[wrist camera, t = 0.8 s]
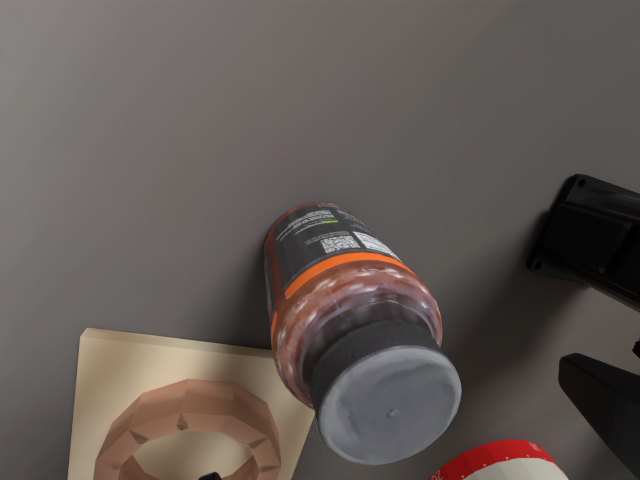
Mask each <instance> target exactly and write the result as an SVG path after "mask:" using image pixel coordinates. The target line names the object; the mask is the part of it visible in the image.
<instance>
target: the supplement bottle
mask: <svg viewBox="0 0 640 480" xmlns="http://www.w3.org/2000/svg"><path fill="white" fill-rule="evenodd" d="M263 264H264V273H265V283H266V296H267V306H268V315H269V327H270V328H269V330H270V336H271V344H272V352H273V358H274V362H275V365H276V369H277V372H278V374H279V376H280V378H281V380H282V382H283V384H284V385H285V387H286V389H287V390H288V391H289V392H290V393H291V394H292V395H293V397H295V398H296V399H297V400H299V401H300V402H302V403H303V404H304V405H306V406H307V407H308V408H311V409H313V410H315V414H316V418H317V422H318V428H319V431H320V434H321V436H322V438H323V440H324V442H325V443H326V445H327V446H328V447H329V448H330V449H331V450H332V451H333V452H334V453H335V454H337V455H338V456H340V457H342V458H344V459H345V460H347V461H351V462H354V463H358V464H365V465H380V464H388V463H392V462H395V461H399V460H402V459H405V458H408V457H410V456H412V455H414V454H416V453H419V452H420V451H422V450H424V449H425V448H426V447H428V446H429V445H430V444H432V443H433V442H434V441H435V440H436V439H437V438H438V437H439V436H440V435H441V434H442V433H444V431H445V430H446V429H447V427H448V426H449V425H450V423H451V421H452V420H453V418H454V416H455V415H456V413H457V410H458V407H459V403H460V398H461V393H462V390H461V383H460V379H459V376H458V373H457V371H456V369H455V367H454V365H453V364H452V363H451V361H450V360H449V359H448V357H447V356H446V355H445V353H444V352H443V351H442V350H441V349H440V347H441V343H442V330H443V329H442V321H441V315H440V312H439V308H438V305H437V303H436V301H435V299H434V297H433V295H432V294H431V292H430V291H429V290H428V288H427V287H426V286H425V284H424V283H423V282H422V281H421V280H420V279H419V278H418V277H417V276H416V275H415V274H414V273H413V272H412V271H411V270H410V269H409V268H408V267H407V266H406V265H405V264H404V263H403V262H402V261H401V260H400V259H399V258H398V257H397V256H396V255H395V254H394V253H393V252H392V251H391V250H390V249H389V248H388V247H387V246H386V245H385V244H384V243H383V242H382V241H380V239H378V238H377V237H376V236H375V235H374V234H373V233H372V232H371V231H370V230H369V229H368V228H367V227H366V226H365V225H364V224H363V223H362V222H361V221H360V220H359V219H358V218H357V217H356V216H354V215H353V214H352V213H351V212H350V211H348V210H346V209H345V208H343V207H340V206H338V205H335V204H332V203H323V202H313V203H308V204H304V205H301V206H298V207H296V208H294V209H292V210H290V211H288V212H287V213H285V214H284V215H283V216H282V217H281V218H280V219H279V220H278V221H277V222H276V223H275V225H274V226H273V227H272V229H271V231H270V232H269V234H268V237H267V239H266V242H265V246H264V259H263Z"/></svg>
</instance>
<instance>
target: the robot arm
mask: <svg viewBox="0 0 640 480" xmlns="http://www.w3.org/2000/svg"><path fill="white" fill-rule="evenodd" d="M579 181H580V182H579ZM578 182H579V184H578ZM536 263H537V264H536ZM526 266H527V269H528V270H530V271H532V272H534V273H537V274H541V275H546V276H550V277H554V278H559V279H563V280H567V281H572V282H576V283H580V284H585V285H588V286H590V287H592V288H594V289H595V290H597V291H599V292H601V293H603V294H605V295H607V296H609V297H611V298H613V299H614V300H616V301H618V302H620V303H622V304H624V305H626V306H628V307H630V308H632V309H634V310H635V311H637V312H639V313H640V194H639V193H636V192H633V191H630V190H627V189H625V188H622V187H619V186H616V185H613V184H610V183H607V182H605V181H602V180H599V179H596V178H593V177H590V176H587V175H583V174H575V175H574V176H572V177H571V179H570V180H569V182H568V184H567V186H566V188H565V190H564V192H563V194H562V196H561V198H560V200H559V202H558V204H557V205H556V207H555V209H554V211H553V213H552V215H551V217H550V219H549V221H548V223H547V225H546V227H545V229H544V231H543V233H542V234H541V236H540V238H539V240H538V242H537V244H536V246H535V248H534V250H533V252H532V254H531V256H530V258H529V260H528V262H527V264H526ZM632 351H633V353H635V354H636V355H637V356H638V357H639V358H640V339H639V341H637V342H636V343H635V345H634V348H633V350H632ZM558 381H559V384H560V387H561V388H562V390H563V391H564V393H565V394H566V395H567V396H568V398H569V399H570V400H571V401H572V403H573V404H574V405H575V406H576V408H577V409H578V410H579V411H580V413H581V414H582V415H583V416H584V418H585V419H586V420H587V421H588V423H589V424H590V425H591V427H592V428H593V429H594V430H595V432H596V433H597V434H598V435H599V437H600V438H601V439H602V440H603V441H604V443H605V444H606V445H607V446H608V447H609V449H610V450H611V451H612V452H613V453H614V454H615V455H616V456H617V457H618V458H619V460H620V461H621V462H622V463H623V464H624V465H625V466H626V467H627V468H628V469H629V470H630V471H631V472H632V473H633V475H634V476H635V477H636V478H637V479H638V480H640V376H639V375H636V374H633V373H631V372H628V371H625V370H623V369H620V368H617V367H615V366H612V365H609V364H606V363H604V362H601V361H598V360H596V359H593V358H590V357H588V356H585V355H582V354H579V353H572V354H569V355H566V356H563V357H561V359H560V361H559V375H558ZM198 480H222V479H221V477H220V475H219V474H218V473H217V472H212V473H209V474H206V475H203V476H201V477H200V478H199V479H198Z"/></svg>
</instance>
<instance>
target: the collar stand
mask: <svg viewBox="0 0 640 480" xmlns="http://www.w3.org/2000/svg"><path fill="white" fill-rule="evenodd" d="M314 415H315V410H313V409H311V408H308V407H307V406H306V405H304V404H303V403H302V402H300V401H299V400H297V399H296V398H295V397H293V395H292V394H291V393H290V392H289V391H288V390H287V389H286V387H285V385H284V384H283V382H282V380H281V378H280V376H279V374H278V372H277V369H276V365H275V362H274V358H273V352H272V350H268V349H260V348H252V347H243V346H235V345H227V344H219V343H210V342H202V341H194V340H186V339H178V338H169V337H161V336H153V335H145V334H136V333H128V332H120V331H112V330H104V329H95V328H87V329H86V330H85V331H84V332H83V334H82V335H81V336H80V346H79V357H78V368H77V380H76V391H75V402H74V413H73V425H72V436H71V447H70V458H69V470H68V480H198V479H199V478H200V477H201V476H203V475H206V474H209V473H212V472H217V473H218V474H219V475H220V477H221V479H222V480H291V478H292V476H293V473H294V470H295V467H296V465H297V462H298V459H299V456H300V454H301V451H302V448H303V445H304V443H305V440H306V437H307V434H308V432H309V429H310V426H311V423H312V421H313V418H314Z"/></svg>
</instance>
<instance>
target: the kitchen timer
mask: <svg viewBox="0 0 640 480" xmlns="http://www.w3.org/2000/svg"><path fill="white" fill-rule="evenodd" d="M429 480H569V479H568V478H567V477H566V475H565V474H564V473H563V471H562V470H561V469H560V468H559V467H558V466H557V464H556V463H555V462H554V461H553V460H552V459H551V457H550V456H549V455H548V454H547V453H546V452H545V451H544V450H543V449H542V448H541V447H540V446H539V445H536V444H533V443H530V442H527V441H525V440H503V441H498V442H493V443H488V444H484V445H482V446H479V447H477V448H475V449H472V450H470V451H467V452H465V453H463V454H461V455H460V456H458V457H456V458H455V459H453V460H452V461H450V462H449V463H447V464H446V465H444V466H443V467H442V468H441V469H440V470H438V471H437V472H436V473H435V474H434V475H433V476H432V477H431V478H430V479H429Z"/></svg>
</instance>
